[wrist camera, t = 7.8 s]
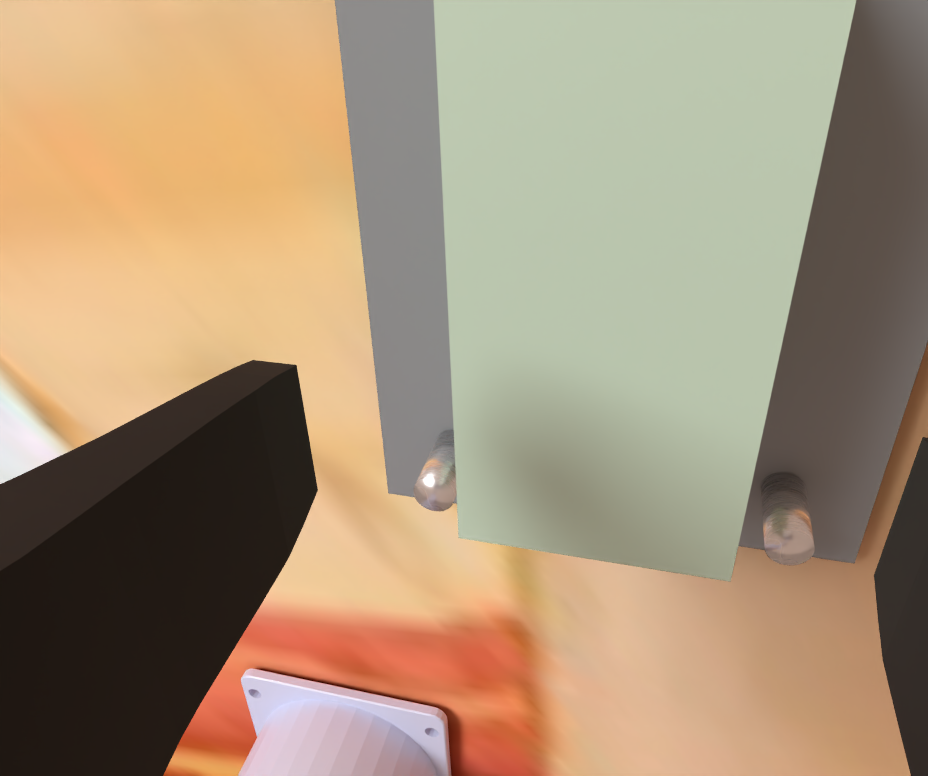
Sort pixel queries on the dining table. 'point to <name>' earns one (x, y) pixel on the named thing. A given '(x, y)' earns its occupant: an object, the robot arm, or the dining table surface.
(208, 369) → the dining table surface
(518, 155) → the sage green block
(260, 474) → the robot arm
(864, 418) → the pin holder
